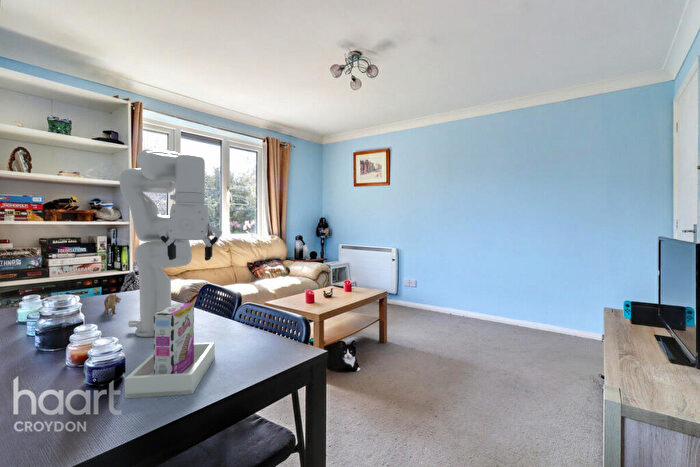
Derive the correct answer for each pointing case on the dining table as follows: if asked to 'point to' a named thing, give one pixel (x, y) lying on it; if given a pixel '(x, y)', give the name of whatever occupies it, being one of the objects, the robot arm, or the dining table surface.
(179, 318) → the candy bar box
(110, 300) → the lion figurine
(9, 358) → the dining table surface
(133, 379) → the tray
